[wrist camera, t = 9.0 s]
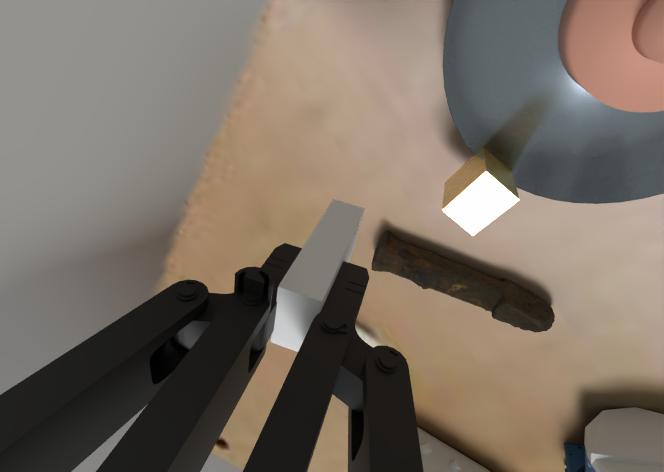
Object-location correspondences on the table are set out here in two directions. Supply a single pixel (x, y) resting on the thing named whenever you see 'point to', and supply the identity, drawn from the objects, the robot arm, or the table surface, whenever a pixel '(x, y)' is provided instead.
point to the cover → (615, 51)
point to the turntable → (535, 118)
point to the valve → (620, 443)
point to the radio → (444, 456)
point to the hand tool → (464, 284)
